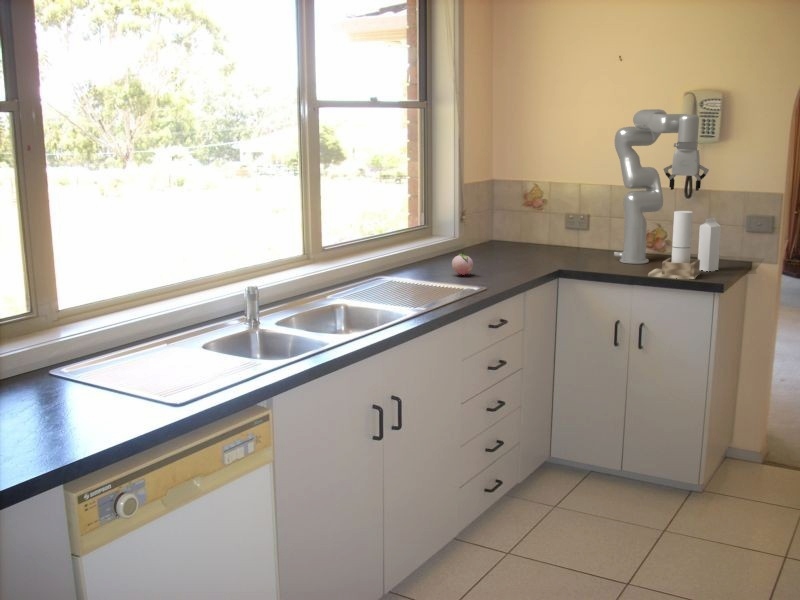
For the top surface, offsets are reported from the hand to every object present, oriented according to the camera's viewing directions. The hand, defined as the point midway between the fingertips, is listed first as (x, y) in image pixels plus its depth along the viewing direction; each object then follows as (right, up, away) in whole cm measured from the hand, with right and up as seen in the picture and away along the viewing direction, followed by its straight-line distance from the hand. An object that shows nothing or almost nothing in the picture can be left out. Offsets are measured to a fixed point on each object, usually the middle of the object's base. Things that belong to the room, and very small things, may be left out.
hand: (684, 189), depth 343 cm
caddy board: (-2, -34, +8) cm, 35 cm away
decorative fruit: (-88, -34, +13) cm, 96 cm away
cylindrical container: (0, -33, +7) cm, 34 cm away
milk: (+16, -32, +19) cm, 40 cm away
